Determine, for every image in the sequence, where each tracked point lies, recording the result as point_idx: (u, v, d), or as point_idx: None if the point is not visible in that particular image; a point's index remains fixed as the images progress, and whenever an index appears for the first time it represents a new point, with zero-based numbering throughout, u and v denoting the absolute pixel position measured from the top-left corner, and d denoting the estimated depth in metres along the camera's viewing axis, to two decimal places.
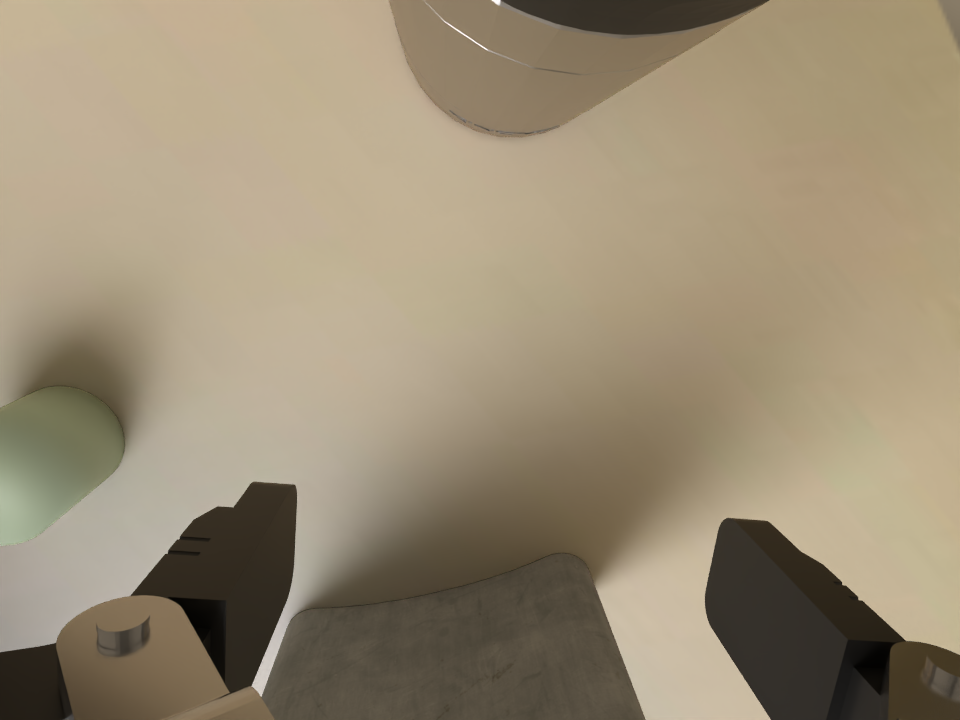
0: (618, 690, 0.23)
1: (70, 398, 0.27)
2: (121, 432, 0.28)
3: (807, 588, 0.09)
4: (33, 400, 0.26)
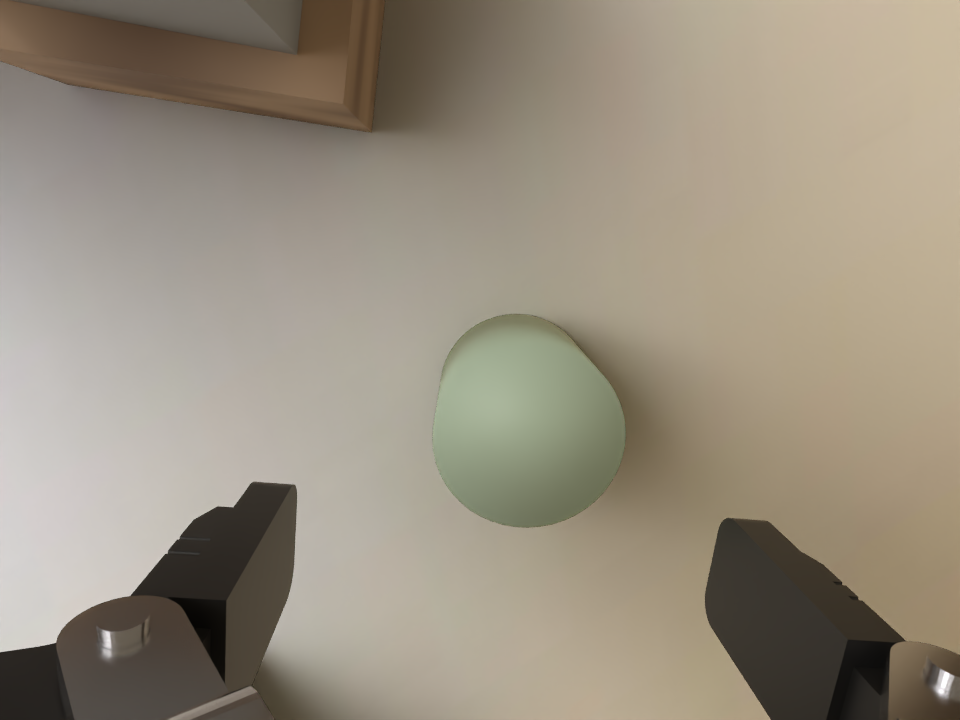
0: None
1: None
2: None
3: (807, 588, 0.09)
4: None
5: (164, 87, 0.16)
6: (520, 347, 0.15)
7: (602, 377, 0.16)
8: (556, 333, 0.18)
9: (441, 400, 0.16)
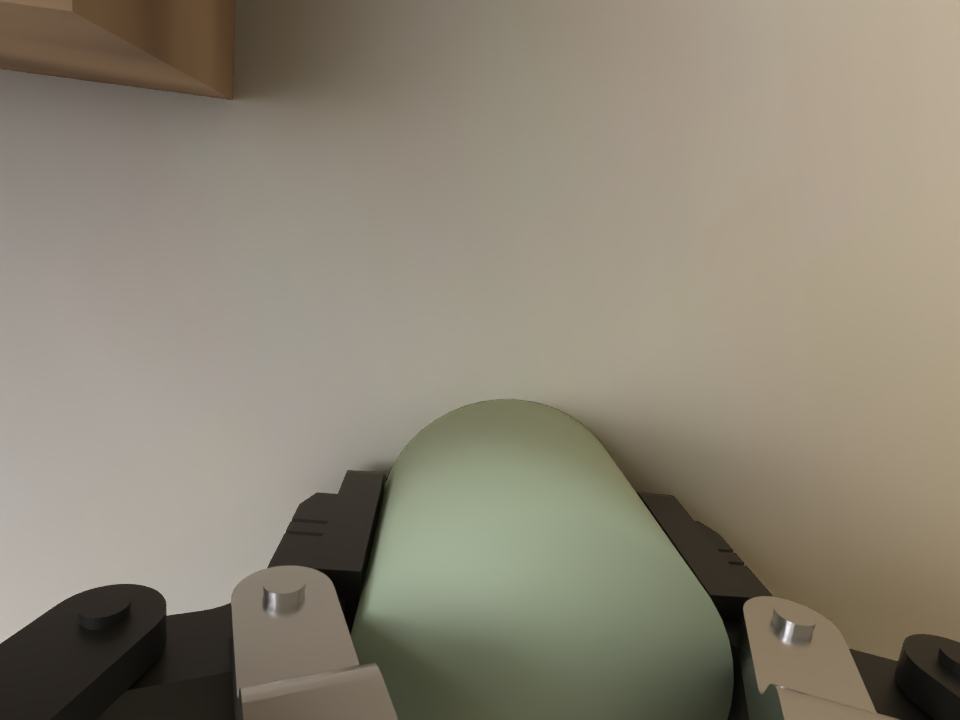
0: None
1: None
2: None
3: (688, 552, 0.10)
4: None
5: None
6: (511, 526, 0.07)
7: (685, 575, 0.07)
8: (574, 450, 0.10)
9: (353, 641, 0.08)
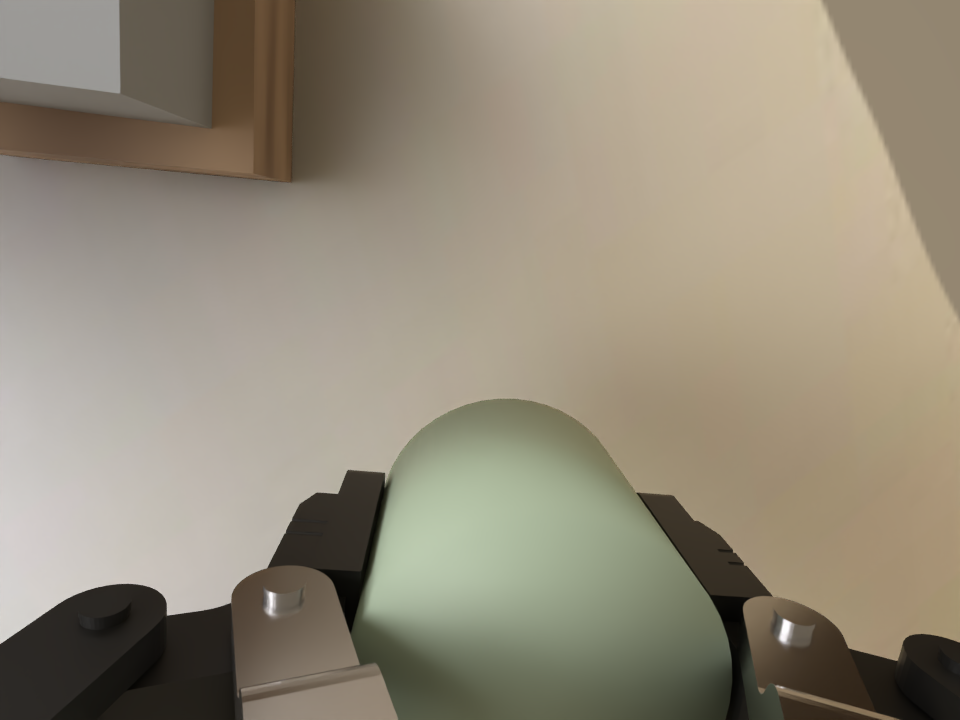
0: None
1: None
2: None
3: (688, 552, 0.10)
4: None
5: (98, 161, 0.18)
6: (511, 525, 0.07)
7: (684, 573, 0.08)
8: (573, 449, 0.10)
9: (353, 639, 0.08)
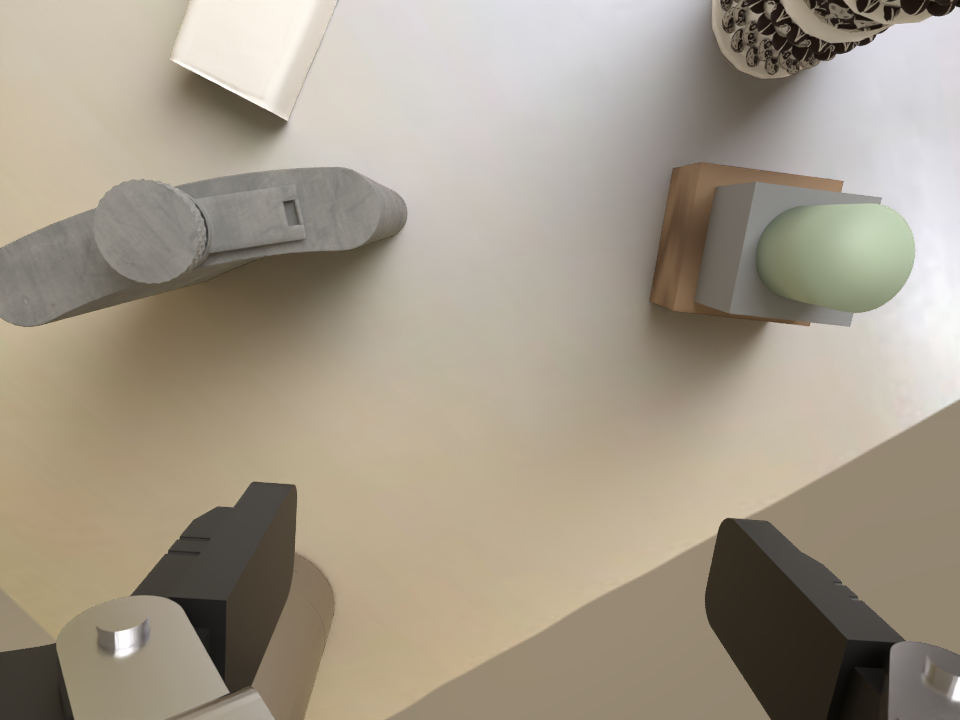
0: None
1: None
2: None
3: (807, 588, 0.09)
4: None
5: (676, 229, 0.40)
6: (863, 205, 0.28)
7: (905, 221, 0.28)
8: None
9: (817, 237, 0.28)
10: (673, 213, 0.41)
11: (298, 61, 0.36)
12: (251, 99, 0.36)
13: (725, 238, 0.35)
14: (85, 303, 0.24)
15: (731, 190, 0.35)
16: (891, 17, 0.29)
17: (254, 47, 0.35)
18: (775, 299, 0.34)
